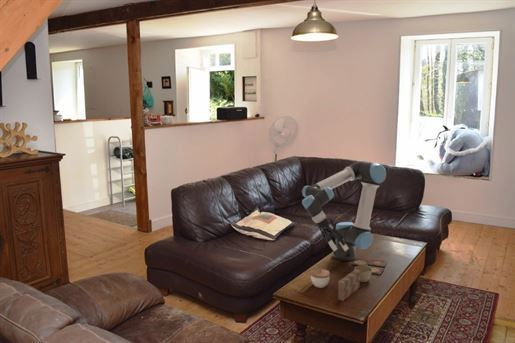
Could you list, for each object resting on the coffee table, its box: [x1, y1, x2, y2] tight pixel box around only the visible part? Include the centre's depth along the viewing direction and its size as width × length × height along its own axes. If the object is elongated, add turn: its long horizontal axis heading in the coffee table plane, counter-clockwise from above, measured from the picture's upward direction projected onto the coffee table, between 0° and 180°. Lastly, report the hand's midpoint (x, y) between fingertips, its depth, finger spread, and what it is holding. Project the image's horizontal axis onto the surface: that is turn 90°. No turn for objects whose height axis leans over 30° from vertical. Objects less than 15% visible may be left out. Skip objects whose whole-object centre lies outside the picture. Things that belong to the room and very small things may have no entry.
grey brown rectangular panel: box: [337, 268, 361, 302], centre depth 244 cm, size 20×3×10 cm, turn 143°
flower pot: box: [354, 265, 373, 283], centre depth 260 cm, size 10×10×7 cm
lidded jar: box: [310, 268, 331, 289], centre depth 255 cm, size 11×11×9 cm
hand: (341, 250), depth 263 cm, fingers open, 13 cm apart
